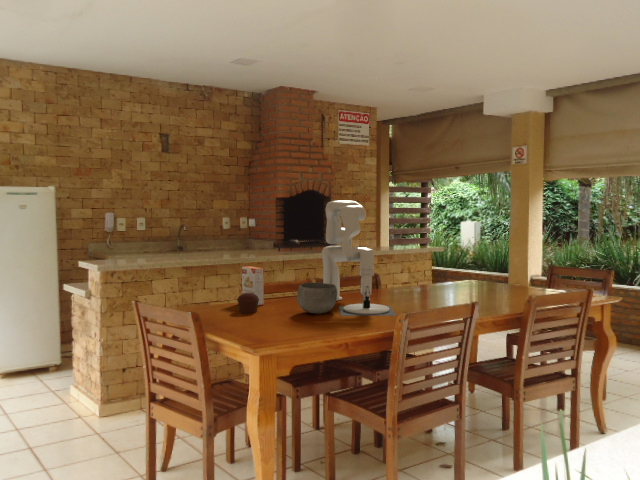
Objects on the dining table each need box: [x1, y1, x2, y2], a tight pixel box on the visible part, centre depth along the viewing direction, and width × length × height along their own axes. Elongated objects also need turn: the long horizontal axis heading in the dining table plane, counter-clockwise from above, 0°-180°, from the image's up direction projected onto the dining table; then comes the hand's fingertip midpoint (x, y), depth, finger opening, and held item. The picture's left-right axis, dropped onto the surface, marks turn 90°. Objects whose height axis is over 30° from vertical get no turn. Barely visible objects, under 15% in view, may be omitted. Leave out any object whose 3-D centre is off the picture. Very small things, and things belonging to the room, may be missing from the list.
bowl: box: [296, 282, 337, 315], centre depth 306 cm, size 20×20×15 cm
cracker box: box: [241, 265, 265, 307], centre depth 334 cm, size 14×6×21 cm, turn 40°
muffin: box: [236, 293, 259, 315], centre depth 310 cm, size 12×11×10 cm
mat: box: [338, 305, 398, 317], centre depth 311 cm, size 28×28×1 cm
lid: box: [343, 297, 389, 314], centre depth 311 cm, size 24×24×6 cm
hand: (366, 306), depth 311 cm, fingers closed on lid, 4 cm apart
